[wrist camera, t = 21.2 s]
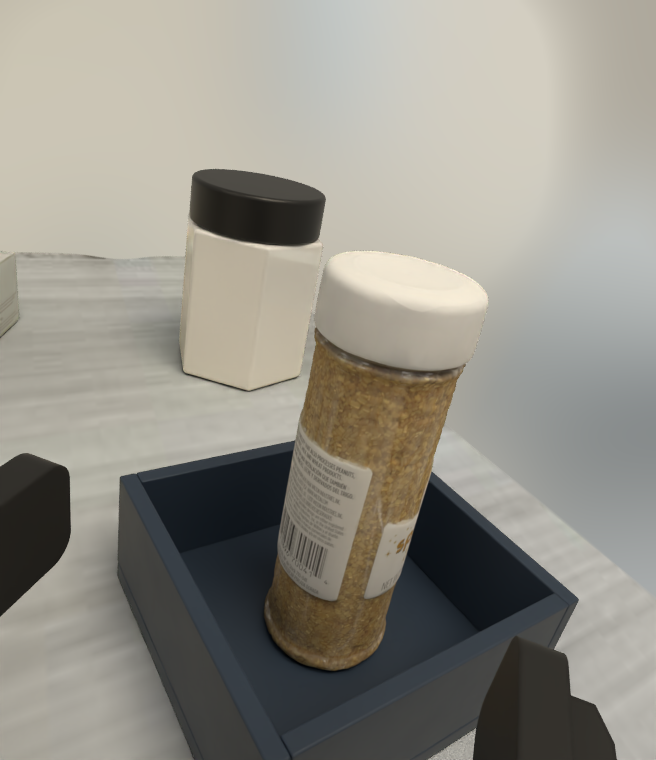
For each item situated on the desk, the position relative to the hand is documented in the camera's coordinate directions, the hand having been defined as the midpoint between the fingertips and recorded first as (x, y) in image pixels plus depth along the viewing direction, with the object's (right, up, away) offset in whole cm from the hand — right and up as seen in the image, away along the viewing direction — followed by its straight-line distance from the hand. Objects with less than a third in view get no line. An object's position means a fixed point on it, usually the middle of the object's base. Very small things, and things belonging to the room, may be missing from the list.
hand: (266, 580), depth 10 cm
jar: (-5, +5, +31) cm, 32 cm away
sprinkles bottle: (+1, -6, +12) cm, 13 cm away
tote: (+1, -6, +12) cm, 14 cm away
